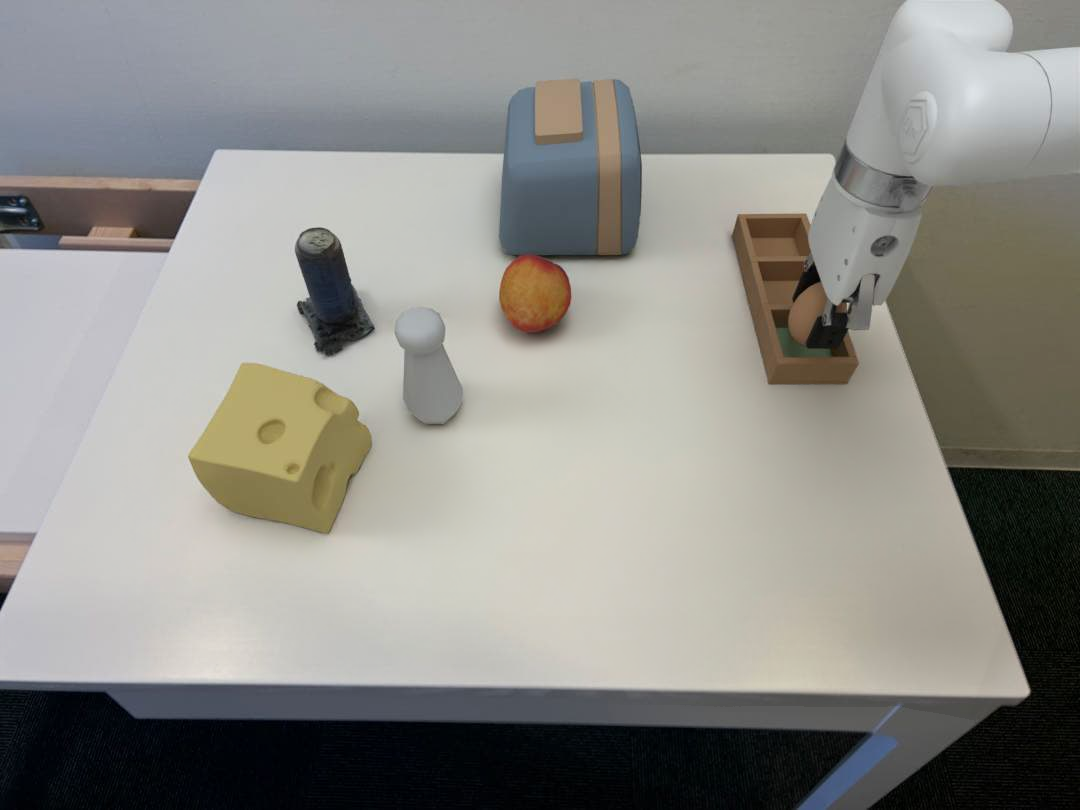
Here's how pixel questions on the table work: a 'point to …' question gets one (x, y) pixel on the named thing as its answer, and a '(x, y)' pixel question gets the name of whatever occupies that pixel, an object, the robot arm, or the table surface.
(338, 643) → the table surface
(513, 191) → the blue toy backpack
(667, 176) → the table surface
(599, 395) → the table surface
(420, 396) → the salt shaker
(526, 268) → the fruit
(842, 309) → the egg
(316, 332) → the dark blue cylinder
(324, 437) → the cheese
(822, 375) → the compartment tray
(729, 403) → the table surface
